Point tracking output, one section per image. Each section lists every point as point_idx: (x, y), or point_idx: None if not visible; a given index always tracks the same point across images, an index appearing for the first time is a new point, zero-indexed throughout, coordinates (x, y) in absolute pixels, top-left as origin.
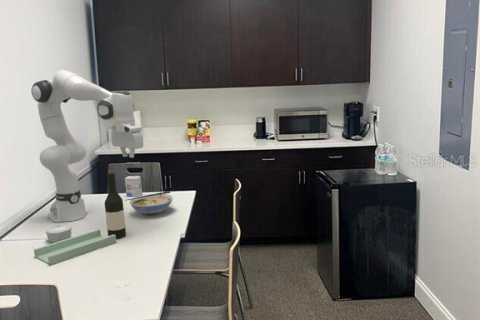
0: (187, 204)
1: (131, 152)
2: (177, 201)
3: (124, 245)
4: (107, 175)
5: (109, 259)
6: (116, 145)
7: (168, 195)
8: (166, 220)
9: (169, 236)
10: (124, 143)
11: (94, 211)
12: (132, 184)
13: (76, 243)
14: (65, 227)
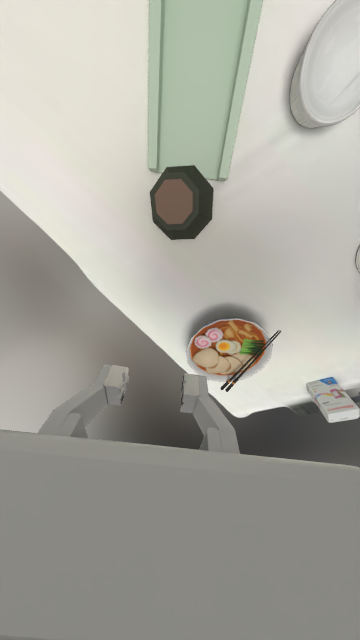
0: None
1: (77, 398)
2: None
3: (120, 168)
4: (180, 172)
5: (59, 52)
6: (294, 471)
7: (216, 379)
8: (170, 320)
9: (95, 263)
10: (100, 507)
11: (353, 300)
12: (332, 400)
13: (234, 78)
14: (326, 93)
